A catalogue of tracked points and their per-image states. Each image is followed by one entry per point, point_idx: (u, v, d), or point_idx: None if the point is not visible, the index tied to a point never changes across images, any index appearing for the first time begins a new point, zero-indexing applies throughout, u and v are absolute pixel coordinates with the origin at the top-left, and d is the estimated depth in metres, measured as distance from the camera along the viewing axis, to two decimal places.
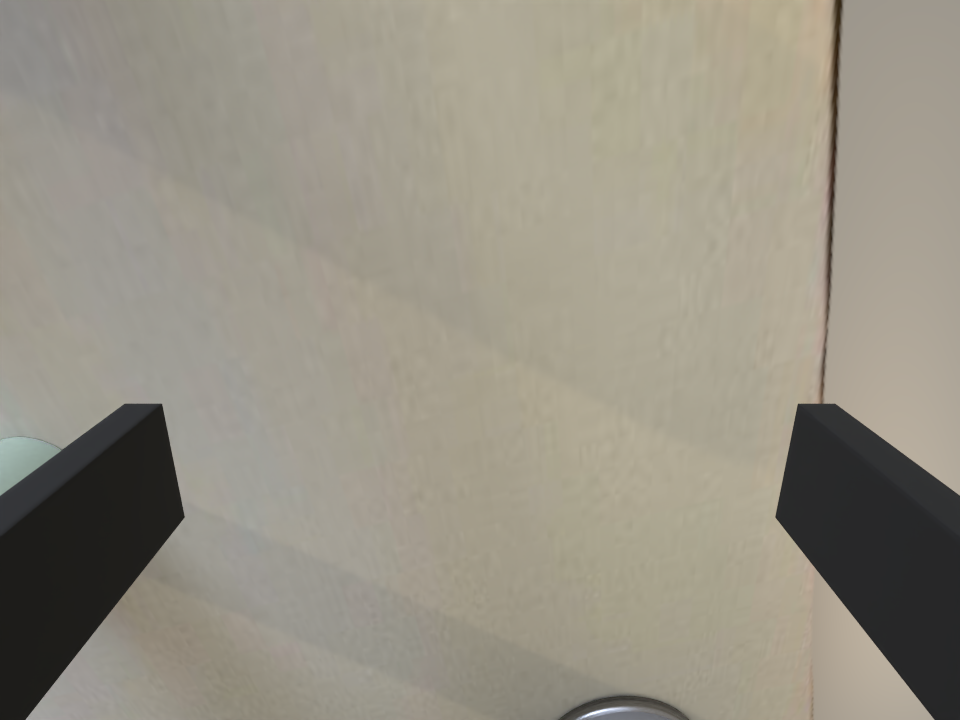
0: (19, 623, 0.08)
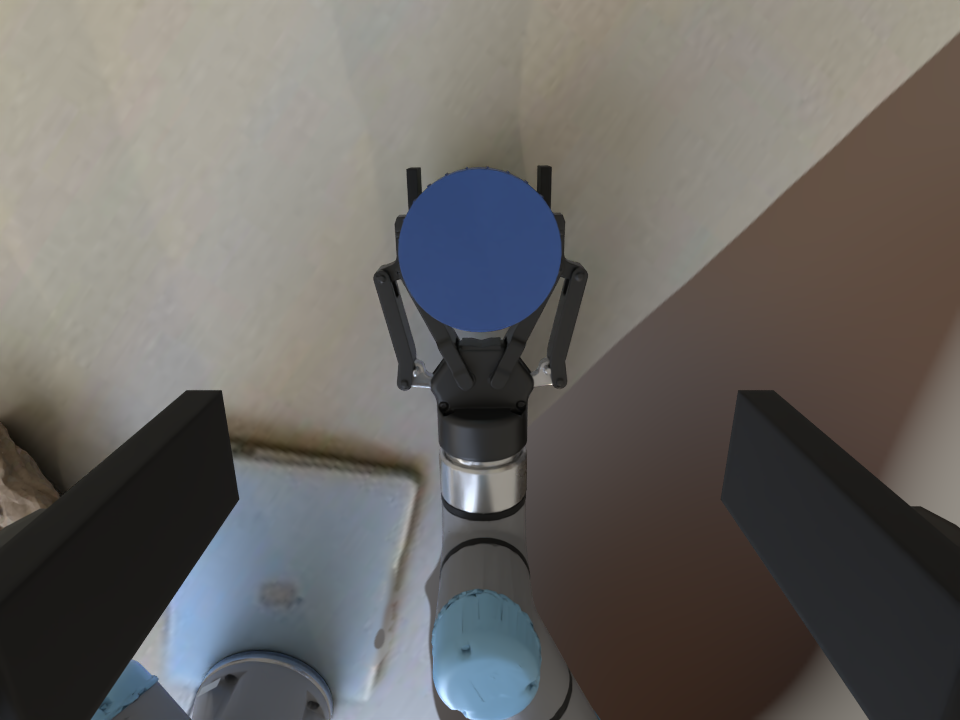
0: (114, 588, 0.09)
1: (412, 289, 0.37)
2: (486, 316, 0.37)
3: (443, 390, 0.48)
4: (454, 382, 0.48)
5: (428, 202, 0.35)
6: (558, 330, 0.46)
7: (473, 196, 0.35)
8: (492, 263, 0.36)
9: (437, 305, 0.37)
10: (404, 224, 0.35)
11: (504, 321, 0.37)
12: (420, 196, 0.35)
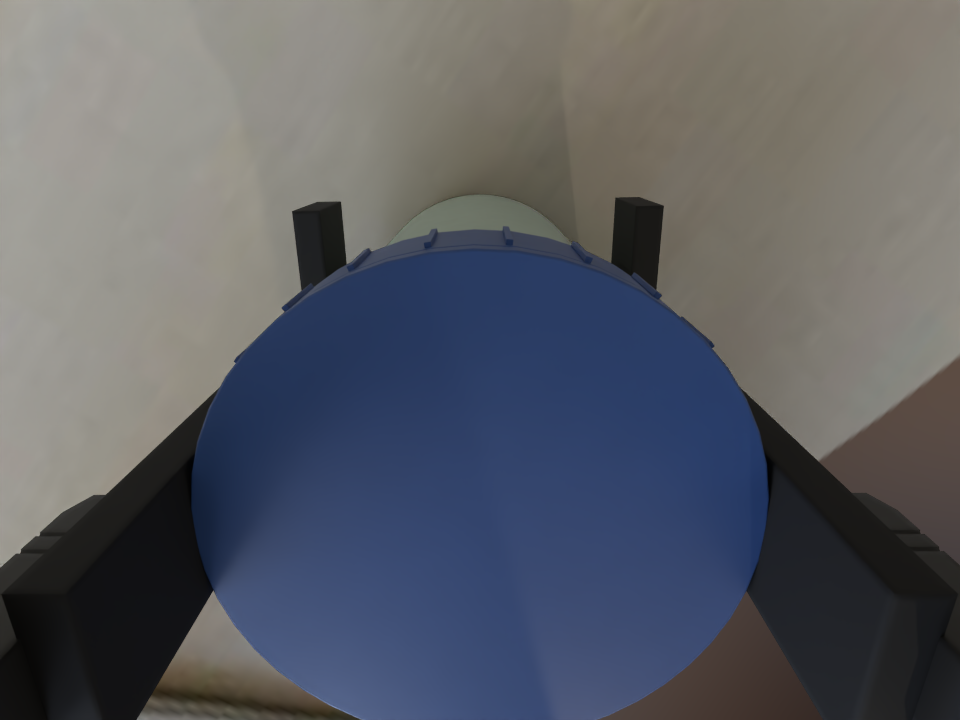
0: (170, 570, 0.09)
1: (254, 633, 0.11)
2: (500, 703, 0.12)
3: None
4: None
5: (284, 371, 0.09)
6: None
7: (454, 350, 0.09)
8: (523, 562, 0.10)
9: (341, 675, 0.11)
10: (203, 444, 0.10)
11: (558, 716, 0.12)
12: (252, 350, 0.09)
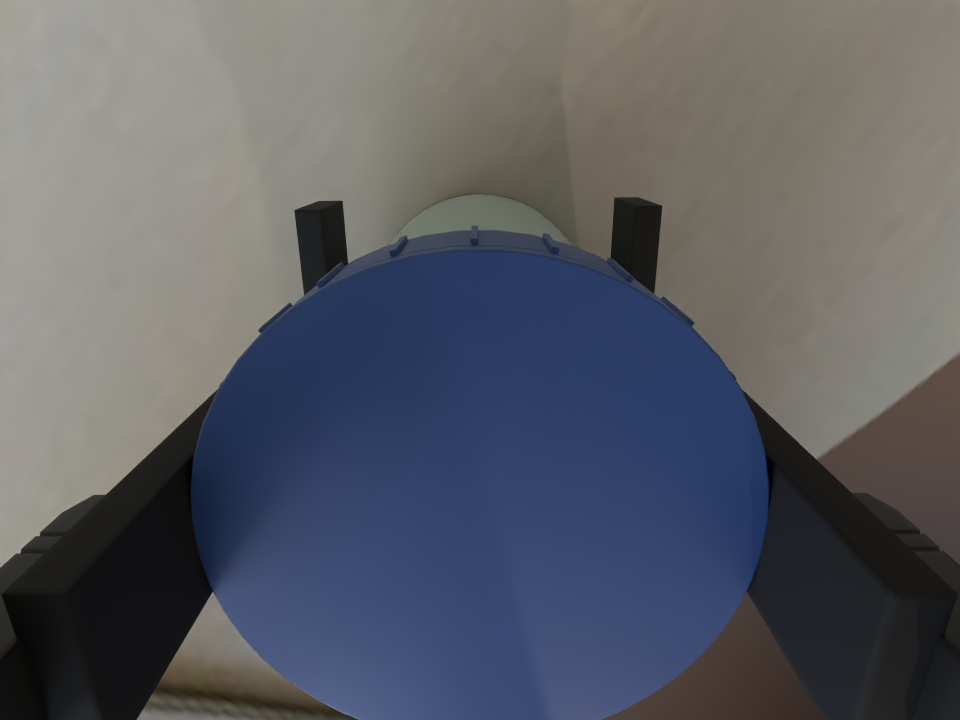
0: (170, 570, 0.09)
1: None
2: (703, 555, 0.10)
3: None
4: None
5: (286, 642, 0.11)
6: None
7: (281, 520, 0.10)
8: (521, 505, 0.10)
9: (615, 679, 0.11)
10: (343, 710, 0.12)
11: (744, 505, 0.10)
12: (265, 657, 0.11)
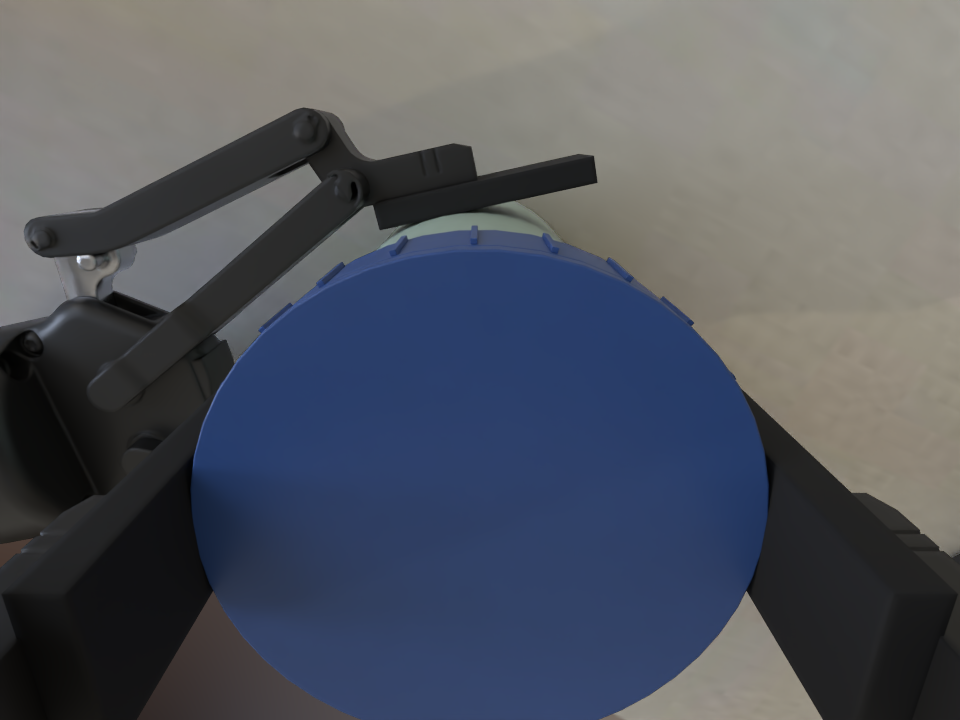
0: (170, 570, 0.09)
1: None
2: (703, 555, 0.10)
3: (71, 337, 0.19)
4: (103, 359, 0.19)
5: (286, 642, 0.11)
6: None
7: (281, 520, 0.10)
8: (521, 505, 0.10)
9: (615, 678, 0.11)
10: (344, 709, 0.12)
11: (743, 504, 0.10)
12: (266, 657, 0.11)
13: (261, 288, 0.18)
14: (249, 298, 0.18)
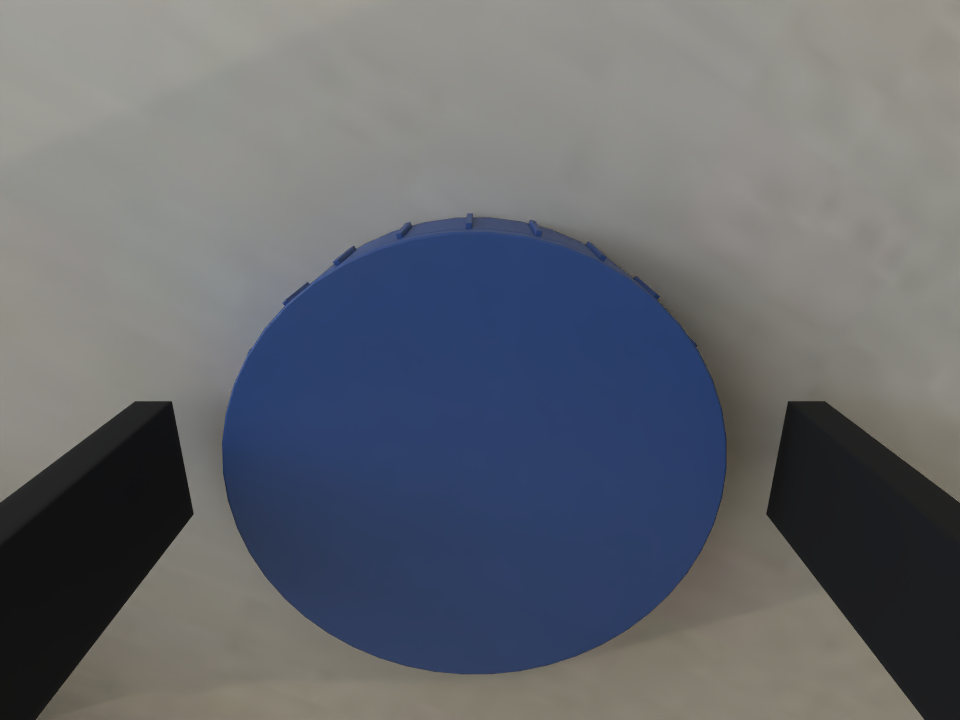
0: (35, 617, 0.08)
1: (532, 660, 0.13)
2: (670, 502, 0.12)
3: None
4: None
5: (304, 581, 0.12)
6: None
7: (301, 470, 0.12)
8: (510, 457, 0.11)
9: (594, 615, 0.13)
10: (354, 644, 0.13)
11: (704, 456, 0.11)
12: (286, 595, 0.13)
13: None
14: None
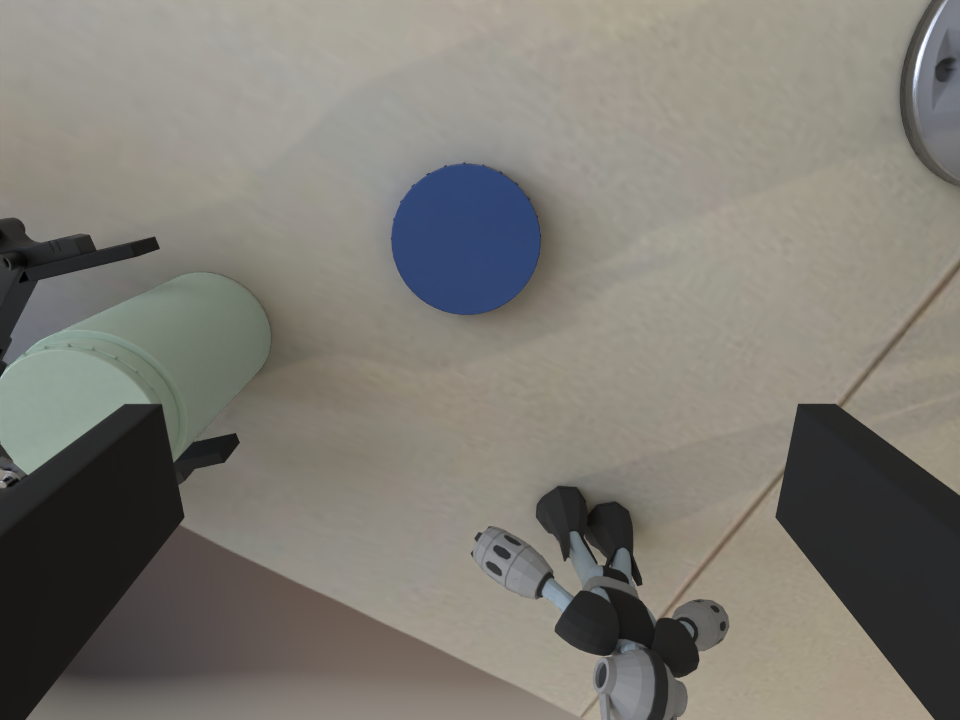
0: (19, 623, 0.08)
1: (485, 308, 0.41)
2: (524, 248, 0.39)
3: None
4: None
5: (413, 278, 0.40)
6: None
7: (414, 238, 0.39)
8: (476, 233, 0.39)
9: (504, 290, 0.40)
10: (427, 302, 0.41)
11: (533, 232, 0.39)
12: (407, 283, 0.40)
13: None
14: None
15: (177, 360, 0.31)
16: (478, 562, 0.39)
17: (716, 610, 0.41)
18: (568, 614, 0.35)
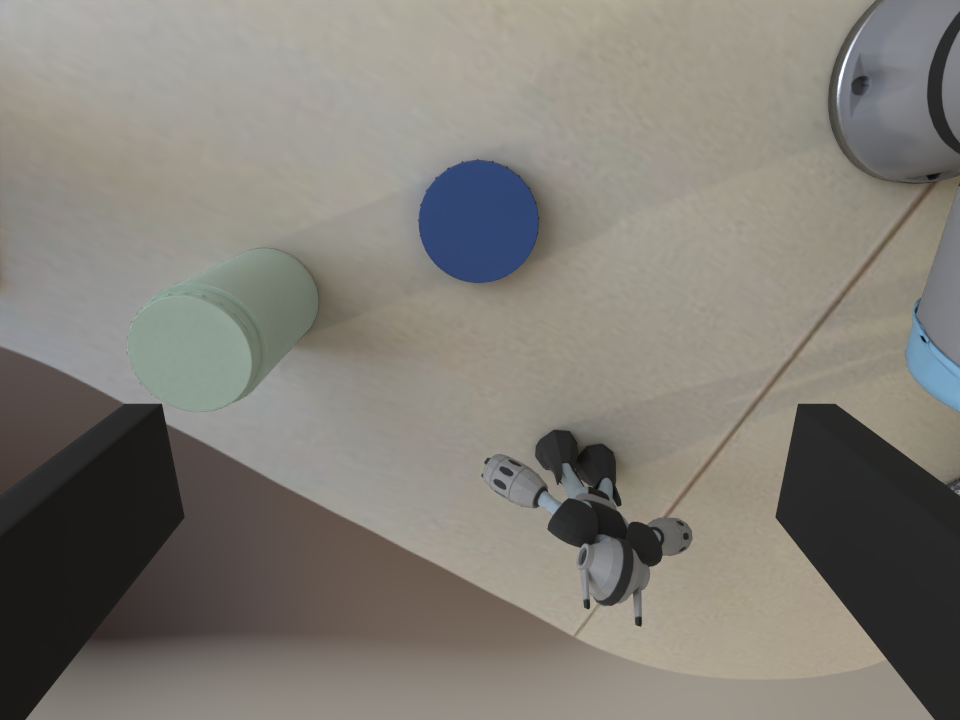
0: (19, 623, 0.08)
1: (493, 278, 0.50)
2: (525, 228, 0.49)
3: None
4: None
5: (435, 252, 0.50)
6: None
7: (437, 220, 0.49)
8: (487, 216, 0.49)
9: (509, 263, 0.50)
10: (447, 272, 0.50)
11: (532, 215, 0.49)
12: (430, 256, 0.50)
13: None
14: None
15: (259, 309, 0.41)
16: (487, 481, 0.49)
17: (680, 524, 0.51)
18: (558, 514, 0.44)
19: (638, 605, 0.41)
